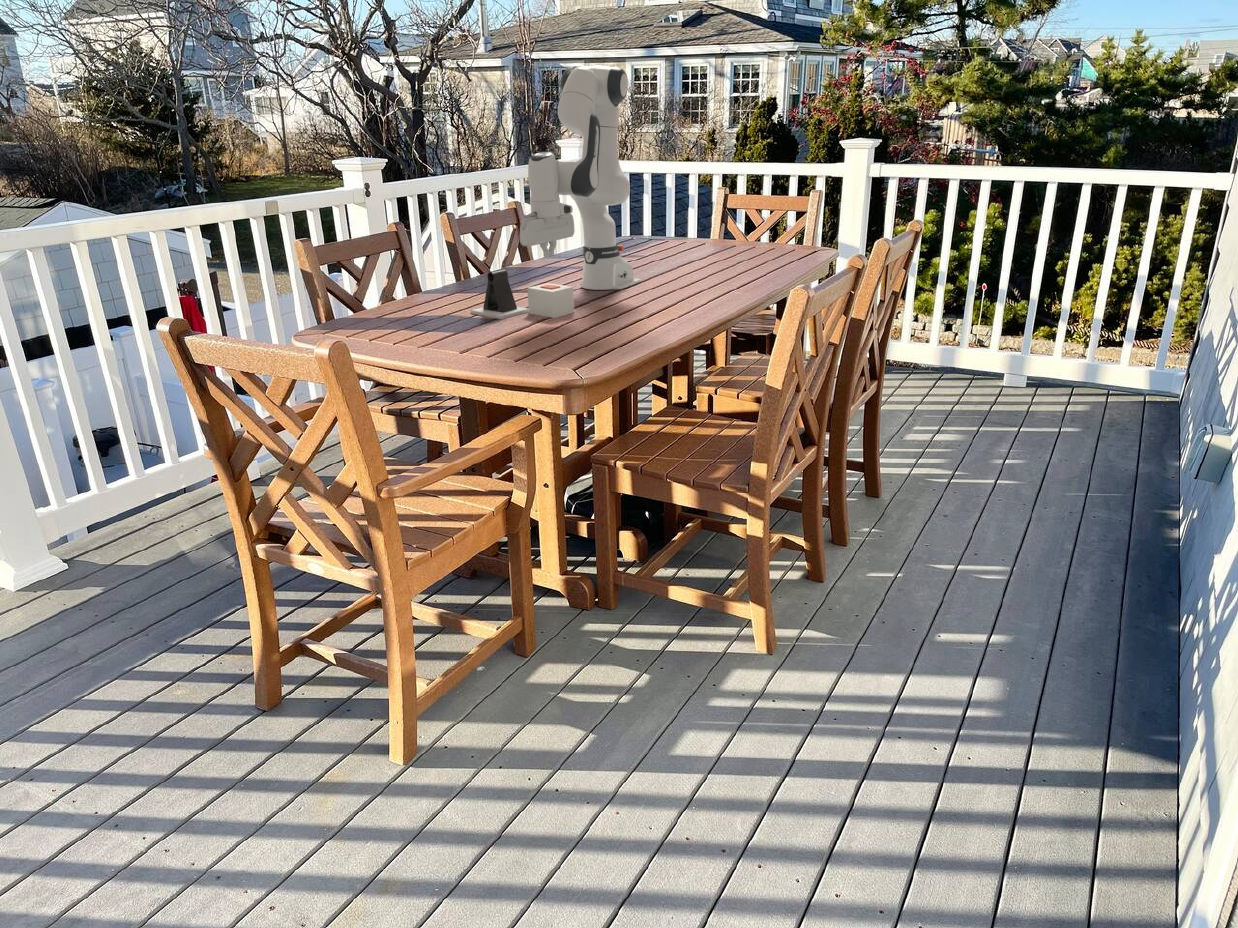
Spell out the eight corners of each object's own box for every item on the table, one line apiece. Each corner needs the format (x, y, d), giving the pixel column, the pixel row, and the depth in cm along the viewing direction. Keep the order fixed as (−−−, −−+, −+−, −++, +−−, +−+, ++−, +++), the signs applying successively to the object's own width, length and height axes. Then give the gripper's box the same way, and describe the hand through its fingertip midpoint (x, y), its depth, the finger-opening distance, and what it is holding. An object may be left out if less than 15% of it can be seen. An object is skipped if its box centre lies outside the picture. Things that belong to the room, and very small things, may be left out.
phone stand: (483, 309, 283) (480, 271, 279) (496, 306, 287) (493, 268, 283) (503, 312, 278) (500, 274, 273) (517, 309, 282) (514, 270, 278)
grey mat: (499, 306, 291) (499, 303, 291) (529, 311, 283) (528, 308, 282) (470, 313, 283) (470, 310, 283) (500, 319, 275) (500, 315, 274)
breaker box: (549, 308, 287) (548, 283, 284) (574, 312, 280) (573, 287, 277) (529, 313, 281) (527, 287, 278) (553, 318, 274) (552, 292, 271)
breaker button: (549, 294, 281) (548, 284, 280) (560, 296, 278) (560, 286, 277) (540, 296, 279) (540, 286, 278) (552, 298, 276) (551, 288, 275)
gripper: (527, 215, 260) (532, 263, 265) (576, 206, 274) (579, 251, 279) (513, 214, 264) (517, 261, 269) (561, 205, 278) (564, 250, 283)
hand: (549, 256), depth 274 cm, fingers closed
